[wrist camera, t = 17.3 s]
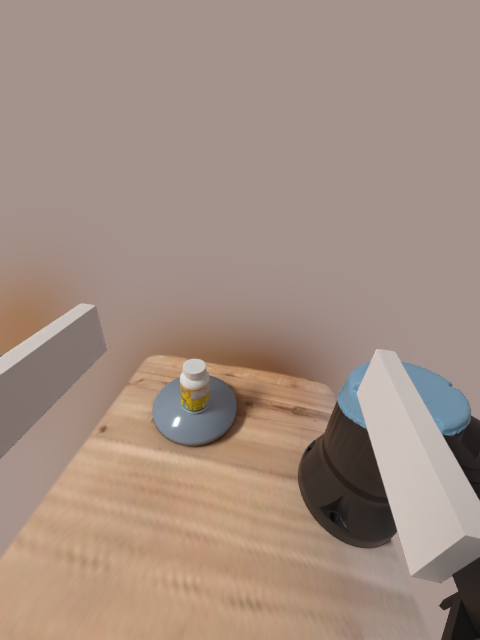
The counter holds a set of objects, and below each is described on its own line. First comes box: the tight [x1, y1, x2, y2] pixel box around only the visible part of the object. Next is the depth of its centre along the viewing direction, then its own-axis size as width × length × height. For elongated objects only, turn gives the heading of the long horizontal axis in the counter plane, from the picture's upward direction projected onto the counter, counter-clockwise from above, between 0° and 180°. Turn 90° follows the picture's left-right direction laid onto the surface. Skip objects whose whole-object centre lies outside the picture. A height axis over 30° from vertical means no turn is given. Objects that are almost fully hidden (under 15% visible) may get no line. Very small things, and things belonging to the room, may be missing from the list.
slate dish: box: [153, 376, 237, 446], centre depth 50 cm, size 16×16×2 cm
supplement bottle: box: [180, 359, 210, 414], centre depth 47 cm, size 5×5×10 cm
